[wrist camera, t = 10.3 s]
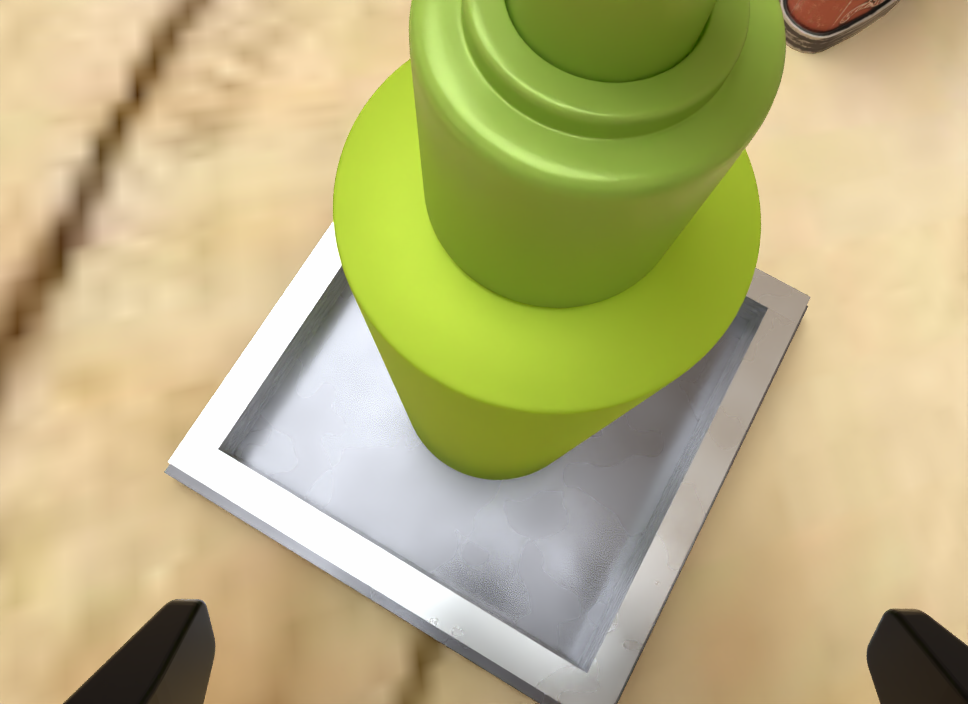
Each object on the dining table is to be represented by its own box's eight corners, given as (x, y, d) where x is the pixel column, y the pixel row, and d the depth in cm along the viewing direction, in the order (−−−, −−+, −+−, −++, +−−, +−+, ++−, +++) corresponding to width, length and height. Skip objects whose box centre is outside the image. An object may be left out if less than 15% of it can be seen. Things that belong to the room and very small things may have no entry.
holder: (796, 313, 24) (831, 291, 22) (594, 732, 21) (610, 756, 18) (421, 111, 25) (418, 71, 23) (174, 474, 22) (142, 468, 20)
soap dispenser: (543, 540, 21) (1520, 705, 2) (365, 403, 22) (-337, -538, 3) (651, 388, 22) (1915, -508, 3) (478, 264, 23) (589, -1080, 4)
